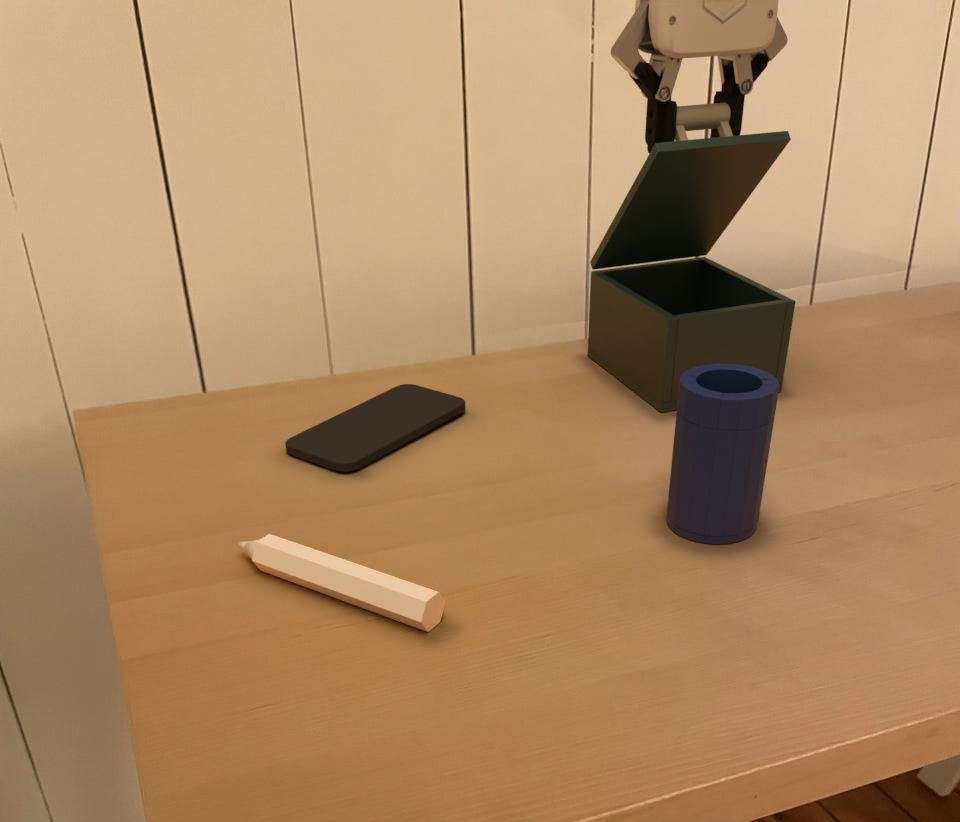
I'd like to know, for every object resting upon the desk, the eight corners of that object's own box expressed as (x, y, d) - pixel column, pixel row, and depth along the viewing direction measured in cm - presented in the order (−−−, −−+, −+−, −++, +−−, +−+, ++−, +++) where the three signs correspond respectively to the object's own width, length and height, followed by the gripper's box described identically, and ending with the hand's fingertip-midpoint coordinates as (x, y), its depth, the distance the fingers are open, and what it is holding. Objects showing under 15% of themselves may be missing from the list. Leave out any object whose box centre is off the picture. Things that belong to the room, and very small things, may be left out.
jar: (709, 493, 72) (726, 356, 66) (775, 526, 68) (799, 383, 62) (648, 518, 69) (660, 378, 63) (712, 554, 65) (731, 407, 59)
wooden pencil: (239, 563, 67) (438, 632, 60) (217, 561, 65) (419, 632, 58) (248, 524, 66) (448, 589, 59) (225, 521, 65) (429, 588, 57)
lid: (791, 139, 79) (770, 82, 79) (658, 152, 75) (638, 92, 76) (706, 255, 93) (689, 205, 94) (592, 269, 90) (576, 218, 91)
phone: (277, 442, 78) (404, 381, 88) (279, 452, 79) (405, 390, 88) (346, 466, 75) (471, 400, 84) (348, 477, 75) (472, 409, 85)
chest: (781, 392, 87) (795, 301, 82) (661, 413, 84) (669, 319, 79) (696, 339, 98) (704, 256, 94) (587, 356, 95) (590, 271, 90)
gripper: (632, -131, 66) (617, 170, 76) (850, -135, 70) (809, 150, 81) (583, -126, 72) (576, 154, 82) (788, -130, 76) (756, 136, 87)
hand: (691, 149), depth 81 cm, fingers closed on lid, 5 cm apart
